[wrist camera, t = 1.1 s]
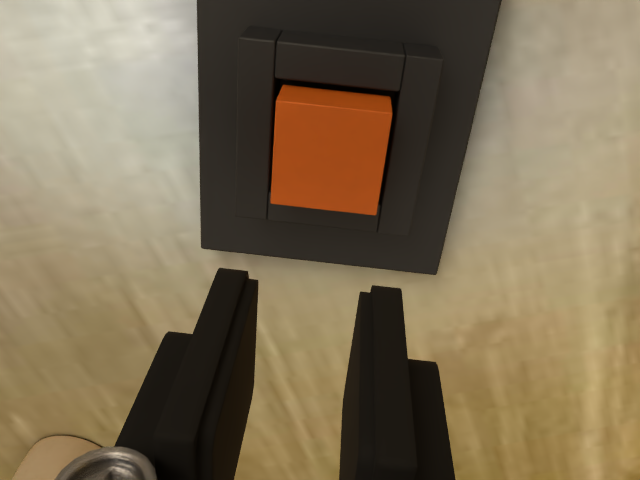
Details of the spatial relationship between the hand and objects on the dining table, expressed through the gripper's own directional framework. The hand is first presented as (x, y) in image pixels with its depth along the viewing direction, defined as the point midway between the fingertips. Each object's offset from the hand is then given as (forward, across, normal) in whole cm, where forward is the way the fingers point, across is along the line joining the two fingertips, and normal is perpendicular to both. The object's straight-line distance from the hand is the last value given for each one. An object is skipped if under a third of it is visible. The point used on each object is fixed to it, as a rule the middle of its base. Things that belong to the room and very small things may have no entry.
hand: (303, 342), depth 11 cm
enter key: (+11, 0, 0) cm, 11 cm away
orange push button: (+13, 0, 0) cm, 13 cm away
